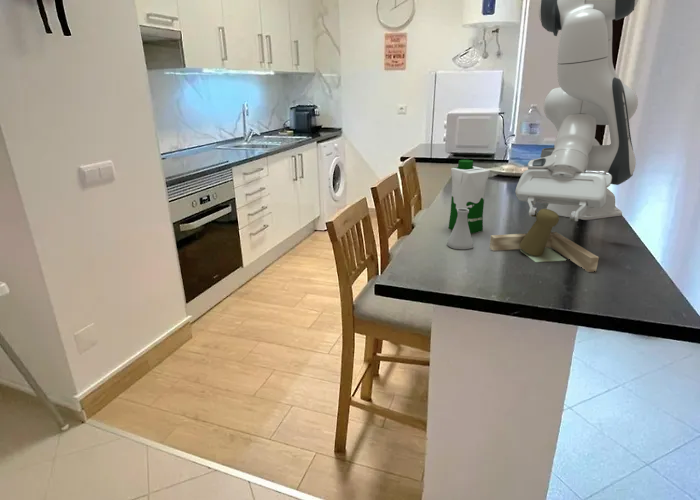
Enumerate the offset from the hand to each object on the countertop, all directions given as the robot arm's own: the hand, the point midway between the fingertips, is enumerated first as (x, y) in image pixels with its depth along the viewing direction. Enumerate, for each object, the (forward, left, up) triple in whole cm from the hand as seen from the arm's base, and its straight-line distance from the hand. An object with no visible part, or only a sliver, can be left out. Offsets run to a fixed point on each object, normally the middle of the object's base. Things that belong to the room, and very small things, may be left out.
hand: (552, 217), depth 107 cm
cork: (+2, -4, -10) cm, 10 cm away
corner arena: (+2, 0, -10) cm, 11 cm away
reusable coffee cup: (-40, -67, -11) cm, 78 cm away
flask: (+18, -12, -11) cm, 24 cm away
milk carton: (+12, -24, -11) cm, 29 cm away
